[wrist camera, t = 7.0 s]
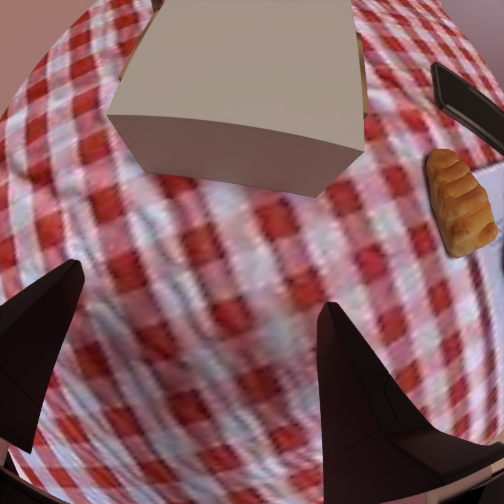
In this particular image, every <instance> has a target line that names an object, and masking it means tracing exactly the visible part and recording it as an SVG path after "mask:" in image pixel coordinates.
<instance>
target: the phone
mask: <svg viewBox="0 0 504 504" xmlns="http://www.w3.org/2000/svg"><path fill="white" fill-rule="evenodd" d="M432 69H433V70H432ZM431 74H432V81H433V89H434V97H435V103H436V105H437V106H438V108H439V109H440V110H441V111H442V112H443V113H445V114H447V115H448V116H450V117H451V118H453V119H454V120H456V121H457V122H459V123H460V124H462V125H463V126H465V127H466V128H467V129H469V130H470V131H472V132H473V133H474V134H476V135H477V136H478V137H480V138H481V139H482V140H484V141H485V142H486V143H488V144H489V145H490V146H491V147H493V148H494V149H495V150H496V151H498V152H499V153H500V154H501V155H503V156H504V111H502V110H501V109H500V108H499V107H498V106H497V105H496V104H494V103H493V102H492V101H491V100H490V99H489V98H487V97H486V96H485V95H484V94H482V93H481V92H480V91H479V90H477V89H476V88H475V87H473V86H472V85H471V84H469V83H468V82H467V81H465V80H464V79H463V78H461V77H460V76H459V75H457V74H456V73H454V72H453V71H451V70H450V69H448V68H447V67H445V66H444V65H442V64H441V63H439V62H434V63H433V64H432V65H431ZM434 78H435V83H434Z"/></svg>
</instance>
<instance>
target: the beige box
mask: <svg viewBox="0 0 504 504" xmlns="http://www.w3.org/2000/svg"><path fill="white" fill-rule="evenodd" d="M106 115H107V116H108V118H109V120H110V121H111V123H112V124H113V126H114V127H115V129H116V130H117V132H118V133H119V135H120V136H121V138H122V139H123V141H124V142H125V144H126V145H127V147H128V148H129V150H130V151H131V153H132V154H133V155H134V157H135V158H136V160H137V161H138V163H139V164H140V166H141V167H142V169H143V170H144V171H145V172H146V173H156V174H165V175H174V176H182V177H190V178H198V179H206V180H213V181H220V182H227V183H234V184H240V185H246V186H253V187H259V188H265V189H271V190H276V191H282V192H287V193H293V194H298V195H303V196H309V197H314V198H316V197H317V196H318V195H319V194H320V193H321V192H322V191H323V190H324V189H325V188H327V187H328V186H329V185H330V184H331V183H332V182H333V181H334V180H335V179H336V178H337V177H338V176H339V175H340V174H341V173H342V172H343V171H344V170H345V169H347V168H348V167H349V166H350V165H351V164H352V163H353V162H354V161H355V160H356V159H357V158H358V157H359V156H360V155H361V154H362V153H363V152H364V119H363V99H362V85H361V73H360V63H359V54H358V45H357V37H356V30H355V23H354V17H353V11H352V5H351V0H166V1H165V3H164V4H163V6H162V7H161V9H160V11H159V12H158V14H157V15H156V17H155V18H154V20H153V22H152V23H151V25H150V27H149V28H148V30H147V32H146V33H145V35H144V37H143V39H142V41H141V42H140V44H139V46H138V48H137V50H136V52H135V53H134V55H133V57H132V59H131V61H130V63H129V65H128V67H127V69H126V71H125V73H124V75H123V77H122V80H121V82H120V84H119V86H118V88H117V91H116V93H115V95H114V97H113V100H112V102H111V104H110V107H109V109H108V112H107V114H106Z"/></svg>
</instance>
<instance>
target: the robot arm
mask: <svg viewBox="0 0 504 504" xmlns="http://www.w3.org/2000/svg"><path fill="white" fill-rule="evenodd" d="M84 282H85V276H84V272H83V269H82V265H81V262H80V261H79V260H74V259H69V260H68V261H66V262H64V263H63V264H61V265H60V266H58V267H57V268H55V269H53V270H52V271H50V272H49V273H47V274H46V275H44V276H43V277H41V278H40V279H38V280H37V281H35V282H34V283H32V284H31V285H29V286H28V287H26V288H25V289H23V290H22V291H21V292H19V293H18V294H16V295H15V296H13V297H12V298H11V299H9V300H8V301H6V302H5V303H4V304H3V305H1V306H0V504H70V503H67V502H65V501H63V500H61V499H59V498H57V497H55V496H53V495H51V494H49V493H47V492H45V491H43V490H41V489H39V488H37V487H35V486H34V485H32V484H30V483H28V482H27V481H25V480H23V479H22V478H20V477H19V474H18V472H17V470H16V468H15V465H14V463H13V461H12V459H11V456H10V453H9V451H8V448H9V445H10V443H11V444H12V445H14V446H16V447H18V448H19V449H21V450H23V451H25V452H27V453H29V454H31V451H32V447H33V442H34V437H35V433H36V429H37V424H38V420H39V417H40V413H41V408H42V405H43V401H44V398H45V394H46V391H47V388H48V384H49V381H50V378H51V375H52V372H53V369H54V366H55V363H56V360H57V357H58V355H59V352H60V349H61V346H62V344H63V341H64V339H65V336H66V333H67V331H68V328H69V326H70V323H71V321H72V318H73V316H74V313H75V310H76V306H77V303H78V300H79V297H80V294H81V291H82V288H83V285H84ZM317 372H318V384H319V397H320V412H321V429H322V450H323V486H324V504H504V468H502V469H500V470H498V471H496V472H493V473H492V471H491V464H493V463H495V462H497V461H498V460H500V459H502V458H504V444H503V443H501V442H496V443H494V444H492V445H479V444H476V443H473V442H470V441H467V440H464V439H461V438H458V437H455V436H452V435H449V434H446V433H443V432H441V431H439V430H437V429H436V428H435V427H433V426H432V425H431V424H430V423H429V422H428V421H427V419H426V418H425V417H424V416H423V415H422V414H421V412H420V411H419V410H418V409H417V408H416V406H415V405H414V404H413V403H412V402H411V401H410V399H409V398H408V397H407V396H406V395H405V393H404V392H403V391H402V389H401V388H400V387H399V385H398V384H397V383H396V381H395V380H394V379H393V377H392V376H391V374H389V372H388V370H387V369H386V368H385V366H384V365H383V363H382V362H381V361H380V359H379V358H378V357H377V355H376V354H375V352H374V351H373V350H372V348H371V347H370V346H369V344H368V343H367V341H366V340H365V339H364V337H363V336H362V335H361V333H360V332H359V331H358V329H357V328H356V327H355V325H354V324H353V323H352V321H351V320H350V319H349V317H348V316H347V315H346V313H345V312H344V311H343V309H342V308H341V307H340V305H339V304H338V303H336V302H329V301H327V302H326V303H325V304H324V306H323V308H322V310H321V312H320V314H319V316H318V319H317Z"/></svg>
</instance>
